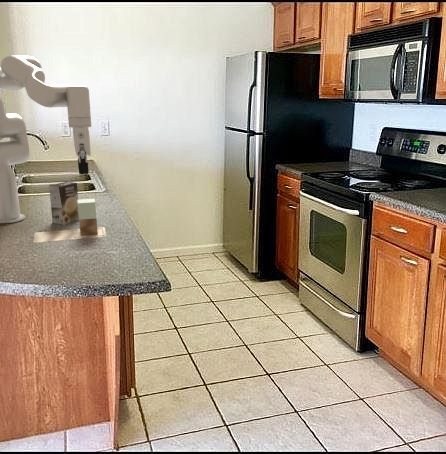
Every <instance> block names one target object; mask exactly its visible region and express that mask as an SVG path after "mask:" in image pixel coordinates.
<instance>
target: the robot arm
mask: <svg viewBox="0 0 446 454" xmlns="http://www.w3.org/2000/svg"><path fill="white" fill-rule="evenodd" d="M42 69H43V68H42V64H41V63H40V60H38V59H37V58H35V57H34V56H30V55H20V54H19V55H17V54H14V55H13V54H10V55H7V56H4V58H2V60H1V61H0V91H19V90H23V89H25V92H26V94H27V96H28V98H30V100H31V101H33V102H34V103H36V104H38V105H40V106H43V107H44V108H48V109H50V108H66V109H67V118H68V119H67V120H68V128H72V137H73V146H74V150H75V155H76V157H78V158H77V165H78V167H77V168H78V175H89V173H90V172H89V163H88V156H89V157H91V156H92V154H91V142H90V141H91V140H90V130H89V129H90V128H92V118H91V117H92V115H91V102H90V89H89V86H86V85H73V84H46V83H45V81H46V76H45V73H44V71H43V70H42ZM8 138H9V140H8V141H6V140H5V141H0V224H10V223H11V224H12V223H16V222H17V223H18V222H20V221H21V222H22V221H23V220H25V218H26V216H25V214H23V213H21V209H20V201H19V192H18V191H19V190H18V183H17V176H16V174H15V172H14V171H13V170H12V168H11V167H10V166H13V165H20V164H24V163H27V162H28V160H29V158H30V146H29V139H28V131H27V126H26V123H25V120H24V119H23V117H21V115H20V114H18V113H15V112H14V113H13V112H11V113H10V112H9V113H8V112H7V113H6V109H5V103H4V100H3V99H2V97H1V96H0V139H8Z"/></svg>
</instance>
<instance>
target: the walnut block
mask: <svg viewBox="0 0 446 454" xmlns="http://www.w3.org/2000/svg"><path fill="white" fill-rule="evenodd" d="M78 222H79V229H80V234H81V236H86V235H98V231H97V228H98V218H97V217H96V219H82V220H78Z"/></svg>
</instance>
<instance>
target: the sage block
mask: <svg viewBox="0 0 446 454" xmlns="http://www.w3.org/2000/svg"><path fill="white" fill-rule="evenodd" d="M77 201H78V213H79V220H82V219H96V218H97V209H96V200H95V198H87V199H84V198H83V199H78V200H77ZM79 220H78V221H79Z"/></svg>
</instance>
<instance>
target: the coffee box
mask: <svg viewBox="0 0 446 454" xmlns="http://www.w3.org/2000/svg"><path fill="white" fill-rule="evenodd" d="M48 189H49V197H50V210H51V211H50V212H51V220H52V224H59V225H67V224H71V223H73V222H76V221H77V222H79V213H78V201H77V200H79V191H78V182H72V181H64V182H60V183H59V182H58V183H53V184H49V186H48Z"/></svg>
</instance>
